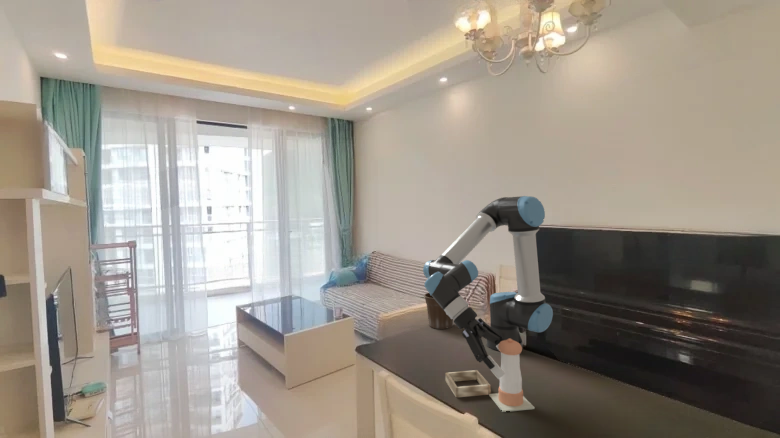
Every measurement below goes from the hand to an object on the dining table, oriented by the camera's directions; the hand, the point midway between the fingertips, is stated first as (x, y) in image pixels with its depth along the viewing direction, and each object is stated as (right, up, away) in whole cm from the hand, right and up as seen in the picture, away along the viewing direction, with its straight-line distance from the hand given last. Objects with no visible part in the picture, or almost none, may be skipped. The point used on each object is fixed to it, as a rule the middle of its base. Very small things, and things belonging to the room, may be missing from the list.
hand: (507, 368), depth 116 cm
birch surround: (-10, -11, +10) cm, 18 cm away
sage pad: (+1, -11, 0) cm, 11 cm away
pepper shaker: (+1, -10, 0) cm, 10 cm away
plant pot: (-10, -9, +77) cm, 79 cm away
